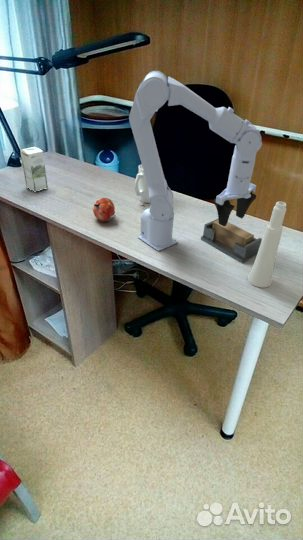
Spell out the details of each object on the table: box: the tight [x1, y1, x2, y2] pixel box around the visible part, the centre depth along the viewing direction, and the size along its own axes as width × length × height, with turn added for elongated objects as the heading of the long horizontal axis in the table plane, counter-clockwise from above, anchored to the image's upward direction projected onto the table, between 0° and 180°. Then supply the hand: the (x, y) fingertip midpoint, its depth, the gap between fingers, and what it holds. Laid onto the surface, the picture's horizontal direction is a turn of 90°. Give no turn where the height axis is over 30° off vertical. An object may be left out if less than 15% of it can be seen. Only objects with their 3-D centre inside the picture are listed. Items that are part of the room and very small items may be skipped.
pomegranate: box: [92, 197, 116, 223], centre depth 113 cm, size 7×7×10 cm
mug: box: [134, 163, 151, 204], centre depth 123 cm, size 10×7×12 cm, turn 139°
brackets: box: [200, 218, 262, 264], centre depth 103 cm, size 16×8×5 cm, turn 40°
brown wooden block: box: [212, 220, 255, 249], centre depth 102 cm, size 12×4×5 cm, turn 41°
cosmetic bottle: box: [247, 201, 287, 289], centre depth 85 cm, size 6×6×22 cm
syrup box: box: [19, 146, 49, 192], centre depth 127 cm, size 6×6×14 cm
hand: (231, 220), depth 100 cm, fingers open, 7 cm apart
